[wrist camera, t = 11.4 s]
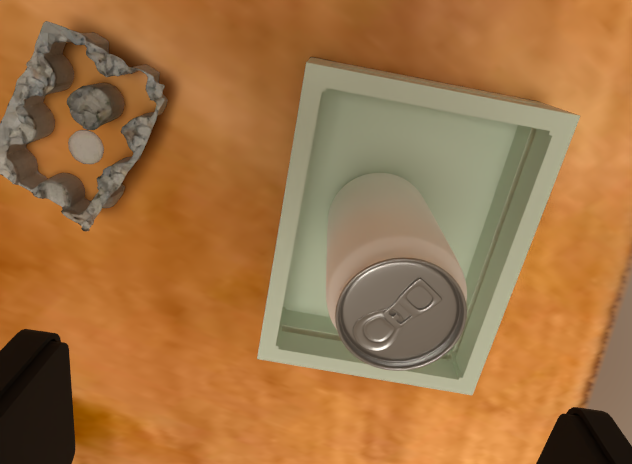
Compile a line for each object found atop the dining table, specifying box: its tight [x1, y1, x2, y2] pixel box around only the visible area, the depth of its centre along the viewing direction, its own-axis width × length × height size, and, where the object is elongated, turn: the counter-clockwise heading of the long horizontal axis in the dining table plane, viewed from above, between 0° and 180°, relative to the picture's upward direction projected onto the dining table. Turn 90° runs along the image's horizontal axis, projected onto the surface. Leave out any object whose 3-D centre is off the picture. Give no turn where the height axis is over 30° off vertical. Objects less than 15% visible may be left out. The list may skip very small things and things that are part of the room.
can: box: [326, 173, 467, 371], centre depth 26 cm, size 6×6×12 cm
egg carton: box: [0, 21, 168, 231], centre depth 29 cm, size 11×8×4 cm
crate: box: [257, 57, 580, 395], centre depth 30 cm, size 18×14×6 cm
